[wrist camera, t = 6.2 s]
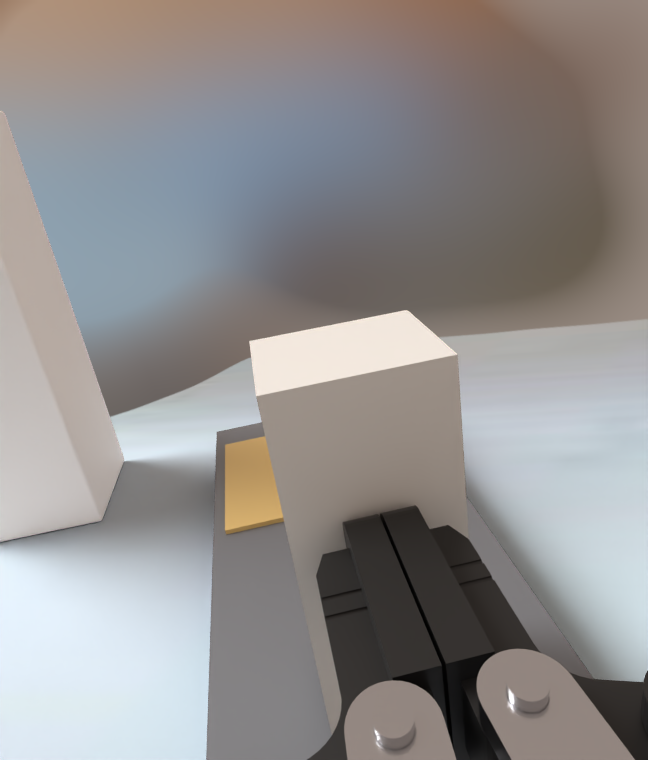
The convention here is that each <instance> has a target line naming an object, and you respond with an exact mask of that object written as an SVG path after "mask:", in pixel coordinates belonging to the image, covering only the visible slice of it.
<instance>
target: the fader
mask: <svg viewBox="0 0 648 760" xmlns="http://www.w3.org/2000/svg"><path fill="white" fill-rule="evenodd" d="M250 349H251V358H252V366H253V374H254V382H255V390H256V397H257V402H258V406H259V411H260V415H261V420H262V424H263V429H264V433H265V438H266V442H267V447H268V451H269V456H270V460H271V465H272V469H273V473H274V478H275V482H276V487H277V491H278V496H279V500H280V505H281V509H282V514H283V518H284V523H285V527H286V532H287V536H288V541H289V545H290V550H291V554H292V559H293V563H294V568H295V572H296V576H297V581H298V585H299V590H300V594H301V599H302V603H303V608H304V612H305V617H306V621H307V626H308V630H309V635H310V639H311V644H312V648H313V653H314V657H315V662H316V666H317V671H318V675H319V679H320V684H321V688H322V693H323V697H324V702H325V706H326V711H327V715H328V720H329V724H330V729H331V733H332V734H333V732H334V730H335V729H336V726H337V724H338V721H339V718H340V713H341V702H342V701H341V694H340V690H339V685H338V680H337V675H336V670H335V666H334V661H333V656H332V651H331V646H330V642H329V637H328V632H327V627H326V622H325V617H324V612H323V608H322V603H321V598H320V593H319V588H318V583H317V578H316V574H317V571H318V568H319V564H320V561H321V558H322V555H323V554H326V553H330V552H335V551H339V550H343V549H346V543H345V537H344V531H343V524H342V523H343V522H345V521H349V520H354V519H358V518H362V517H367V516H371V515H375V514H378V515H379V516H380V513H383V512H388V511H392V510H396V509H401V508H405V507H410V506H414V505H416V506H417V507H418V509H419V510H420V512H421V514H422V516H423V518H424V520H425V522H426V523H427V525H428V527H429V529H432V528H437V527H441V526H445V525H449V526H451V527H452V528H454V529H455V530H457V531H458V532H459V533H461V534H462V535H464V536H465V537H466V538H468V539H469V534H468V517H467V501H466V484H465V468H464V451H463V435H462V418H461V402H460V385H459V369H458V354H457V353H455V352H454V351H453V350H452V349H451V348H450V347H449V346H448V345H446V344H445V343H444V342H443V341H442V340H441V339H440V338H438V337H437V336H436V335H435V334H434V333H433V332H432V331H430V330H429V329H428V328H427V327H426V326H425V325H424V324H422V323H421V322H420V321H419V320H418V319H417V318H416V317H415V316H413V315H412V314H411V313H410V312H409V311H408V310H405V311H400V312H395V313H390V314H385V315H380V316H375V317H370V318H364V319H359V320H354V321H349V322H345V323H340V324H334V325H330V326H324V327H319V328H315V329H309V330H304V331H299V332H294V333H289V334H284V335H279V336H274V337H269V338H264V339H259V340H254V341H250Z"/></svg>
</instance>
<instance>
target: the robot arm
mask: <svg viewBox="0 0 648 760" xmlns="http://www.w3.org/2000/svg"><path fill="white" fill-rule="evenodd" d="M342 524H343V531H344V537H345V543H346V549H343V550H339V551H335V552H330V553H326V554H323V555H322V558H321V561H320V564H319V568H318V571H317V574H316V578H317V583H318V588H319V593H320V598H321V603H322V608H323V612H324V617H325V622H326V627H327V632H328V637H329V642H330V646H331V651H332V656H333V661H334V666H335V670H336V675H337V680H338V685H339V690H340V694H341V701H342V702H341V713H340V718H339V721H338V724H337V726H336V729H335V730H334V732H333V734H332V736H331V737H330V739H329V740H328V741H327V743H326V744H325V745H324V746H323V747H322V748H321V749H320V750H319V751H318V752H317V753H315V754H314V755H313V756H311V757H310V758H308V759H307V760H648V671H647V673H646V675H645V678H644V682H629V681H612V680H598V679H590V678H586V677H581V676H578V675H575V674H573V673H570V672H568V671H567V670H566V669H565V668H564V667H563V666H562V665H561V664H560V663H558V662H557V661H555V660H554V659H552V658H551V657H549V656H547V655H545V654H542V653H541V652H540V651H539V650H538V648H537V647H536V646H535V644H534V643H533V641H532V640H531V638H530V637H529V635H528V633H527V632H526V630H525V628H524V627H523V625H522V624H521V622H520V620H519V619H518V617H517V616H516V614H515V612H514V611H513V609H512V608H511V606H510V604H509V603H508V601H507V600H506V598H505V596H504V595H503V593H502V591H501V590H500V588H499V587H498V585H497V583H496V582H495V580H493V579H492V575H491V574H490V572H489V571H488V569H487V567H486V566H485V564H484V563H482V560H481V558H480V556H479V554H478V553H477V551H476V550H475V548H474V546H473V545H472V543H471V542H470V540H469V539H468V538H466V537H465V536H464V535H462V534H461V533H459V532H458V531H457V530H455V529H454V528H452V527H451V526H449V525H445V526H441V527H437V528H432V529H429V527H428V525H427V523H426V522H425V520H424V518H423V516H422V514H421V512H420V510H419V509H418V507H417V506H416V505H414V506H410V507H405V508H401V509H396V510H392V511H388V512H383V513H380V516H379V515H378V514H375V515H371V516H367V517H362V518H358V519H354V520H349V521H345V522H343V523H342Z"/></svg>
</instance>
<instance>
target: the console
mask: <svg viewBox="0 0 648 760" xmlns="http://www.w3.org/2000/svg"><path fill="white" fill-rule="evenodd" d="M466 501H467V517H468V534H469V540H470V542H471V543H472V545H473V546H474V548H475V550H476V551H477V553H478V554H479V556H480V558H481V560H482V563H484V564H485V566H486V567H487V569H488V571H489V572H490V574H491V575H492V579H493V580H495V582H496V583H497V585H498V587H499V588H500V590H501V591H502V593H503V595H504V596H505V598H506V600H507V601H508V603H509V604H510V606H511V608H512V609H513V611H514V612H515V614H516V616H517V617H518V619H519V620H520V622H521V624H522V625H523V627H524V628H525V630H526V632H527V633H528V635H529V637H530V638H531V640H532V641H533V643H534V644H535V646H536V647H537V648H538V650H539V651H540V652H541V653H542V654H545V655H547V656H549V657H551V658H552V659H554V660H555V661H557V662H558V663H560V664H561V665H562V666H563V667H564V668H565V669H566V670H567V671H568V672H570V673H573V674H575V675H578V676H581V677H586V678H590V679H594V678H593V677H592V676H591V674H590V673H589V671H588V670H587V668H586V667H585V666H584V664H583V663H582V661H581V660H580V658H579V657H578V656H577V654H576V653H575V651H574V650H573V648H572V647H571V645H570V644H569V643H568V641H567V640H566V638H565V637H564V635H563V634H562V633H561V631H560V630H559V628H558V627H557V625H556V624H555V622H554V621H553V620H552V618H551V617H550V615H549V614H548V612H547V611H546V610H545V608H544V607H543V605H542V604H541V602H540V601H539V599H538V598H537V597H536V595H535V594H534V592H533V591H532V589H531V588H530V587H529V585H528V584H527V582H526V581H525V579H524V578H523V577H522V575H521V574H520V572H519V571H518V569H517V568H516V566H515V565H514V564H513V562H512V561H511V559H510V558H509V556H508V555H507V554H506V552H505V551H504V549H503V548H502V546H501V545H500V543H499V542H498V541H497V539H496V538H495V536H494V535H493V533H492V532H491V531H490V529H489V528H488V526H487V525H486V523H485V522H484V520H483V519H482V518H481V516H480V515H479V513H478V512H477V510H476V509H475V508H474V506H473V505H472V503H471V502H470V500H469V499H468V498H467V496H466ZM331 736H332V733H331V729H330V724H329V720H328V715H327V711H326V706H325V702H324V697H323V693H322V688H321V684H320V679H319V675H318V671H317V666H316V662H315V657H314V653H313V648H312V644H311V639H310V635H309V630H308V626H307V621H306V617H305V612H304V608H303V603H302V599H301V594H300V590H299V585H298V581H297V576H296V572H295V568H294V563H293V559H292V554H291V550H290V545H289V541H288V536H287V532H286V527H285V523H284V518H283V514H282V509H281V505H280V500H279V496H278V491H277V487H276V482H275V478H274V473H273V469H272V465H271V460H270V456H269V451H268V447H267V442H266V438H265V433H264V429H263V424H262V423H257V424H252V425H248V426H243V427H238V428H233V429H229V430H224V431H219V432H217V444H216V475H215V506H214V537H213V568H212V600H211V631H210V662H209V693H208V725H207V756H206V760H307V759H308V758H310V757H311V756H313V755H314V754H315V753H317V752H318V751H319V750H320V749H321V748H322V747H323V746H324V745H325V744H326V743H327V741H328V740H329V739H330V737H331Z"/></svg>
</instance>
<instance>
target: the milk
mask: <svg viewBox="0 0 648 760" xmlns="http://www.w3.org/2000/svg"><path fill="white" fill-rule="evenodd" d="M123 462H124V457H123V454H122V451H121V448H120V445H119V442H118V439H117V436H116V433H115V430H114V428H113V425H112V422H111V419H110V416H109V413H108V410H107V407H106V404H105V401H104V399H103V396H102V393H101V390H100V387H99V384H98V381H97V378H96V376H95V373H94V370H93V367H92V364H91V361H90V359H89V355H88V353H87V349H86V347H85V344H84V341H83V338H82V335H81V332H80V329H79V327H78V323H77V321H76V318H75V315H74V312H73V309H72V306H71V303H70V300H69V297H68V295H67V292H66V289H65V286H64V283H63V280H62V277H61V274H60V272H59V269H58V266H57V263H56V260H55V257H54V254H53V251H52V248H51V245H50V242H49V240H48V237H47V234H46V231H45V228H44V225H43V222H42V219H41V216H40V214H39V211H38V208H37V205H36V202H35V199H34V196H33V193H32V191H31V188H30V185H29V182H28V179H27V176H26V173H25V170H24V168H23V164H22V162H21V159H20V156H19V153H18V150H17V148H16V144H15V141H14V139H13V136H12V133H11V130H10V127H9V124H8V121H7V118H6V116H5V113H4V112H2V111H0V542H2V541H7V540H12V539H17V538H21V537H26V536H31V535H36V534H41V533H45V532H50V531H55V530H60V529H65V528H69V527H74V526H79V525H84V524H89V523H93V522H98V521H101V520H102V519H103V516H104V513H105V511H106V508H107V505H108V503H109V500H110V497H111V495H112V492H113V489H114V487H115V484H116V481H117V479H118V476H119V473H120V471H121V468H122V465H123Z"/></svg>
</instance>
